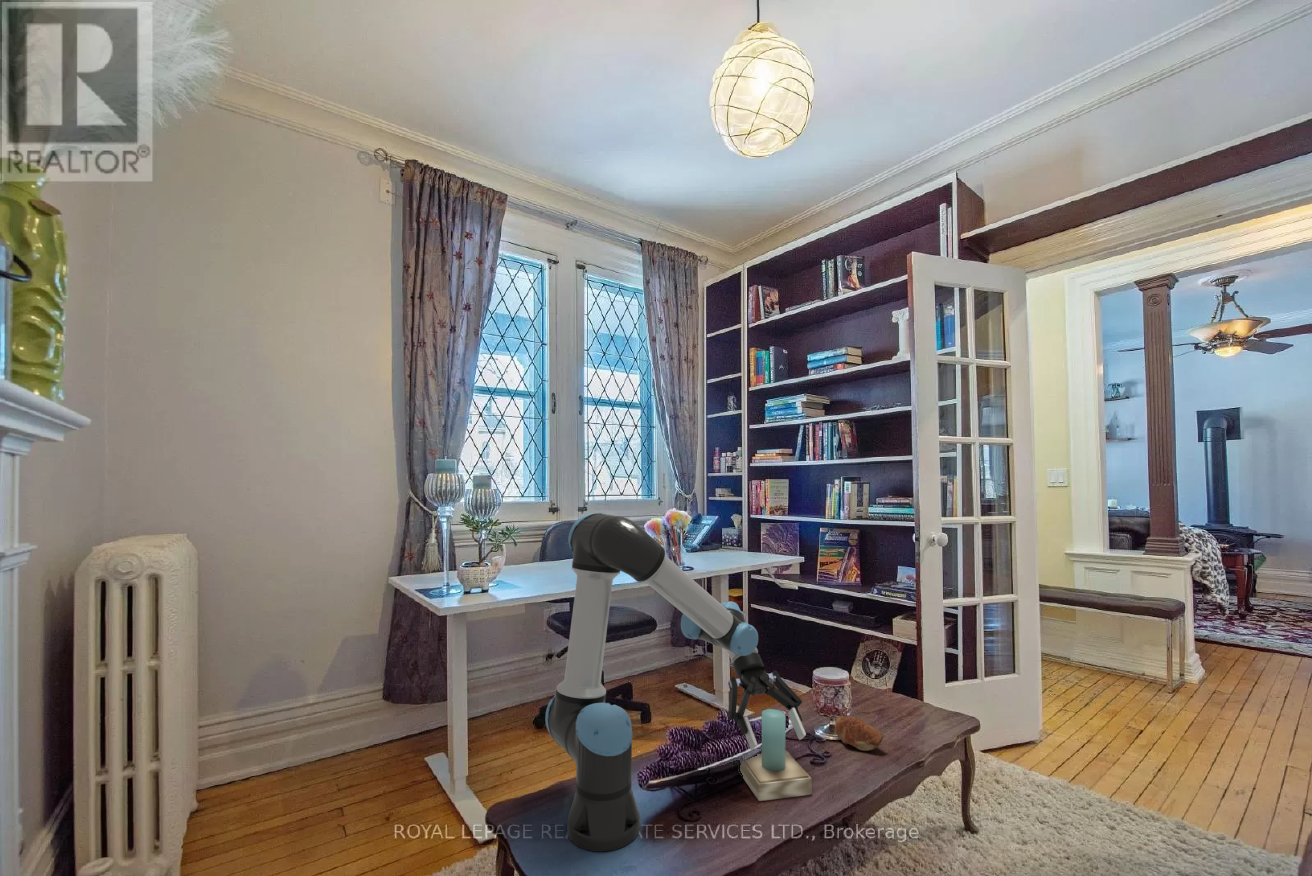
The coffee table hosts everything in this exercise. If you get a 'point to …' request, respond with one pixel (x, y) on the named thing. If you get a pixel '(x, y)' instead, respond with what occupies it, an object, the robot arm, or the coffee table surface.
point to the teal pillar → (773, 740)
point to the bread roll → (858, 733)
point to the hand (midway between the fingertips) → (778, 742)
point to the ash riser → (776, 779)
